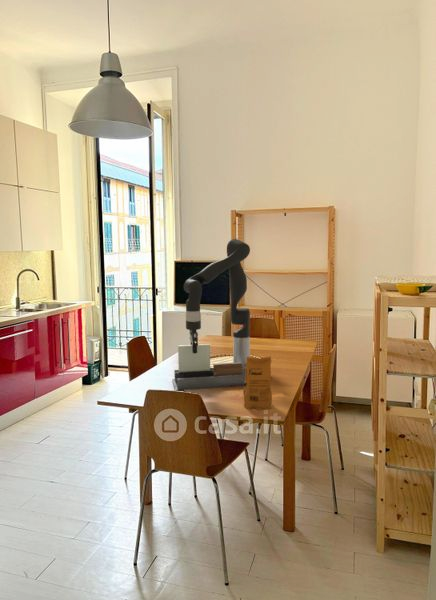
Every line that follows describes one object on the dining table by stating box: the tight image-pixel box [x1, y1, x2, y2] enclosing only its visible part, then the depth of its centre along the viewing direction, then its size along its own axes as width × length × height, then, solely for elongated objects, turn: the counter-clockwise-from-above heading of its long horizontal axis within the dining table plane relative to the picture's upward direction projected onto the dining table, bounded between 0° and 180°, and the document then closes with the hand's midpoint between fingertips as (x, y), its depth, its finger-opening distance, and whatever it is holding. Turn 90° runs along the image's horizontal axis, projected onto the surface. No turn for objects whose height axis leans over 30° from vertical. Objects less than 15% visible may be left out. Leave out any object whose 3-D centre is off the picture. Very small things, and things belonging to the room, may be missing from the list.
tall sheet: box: [177, 343, 211, 372], centre depth 242 cm, size 2×16×18 cm, turn 100°
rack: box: [171, 366, 246, 392], centre depth 239 cm, size 19×38×6 cm, turn 100°
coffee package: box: [242, 356, 273, 410], centre depth 209 cm, size 10×12×22 cm
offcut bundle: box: [212, 362, 243, 376], centre depth 238 cm, size 6×14×9 cm, turn 100°
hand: (193, 351), depth 241 cm, fingers open, 8 cm apart
